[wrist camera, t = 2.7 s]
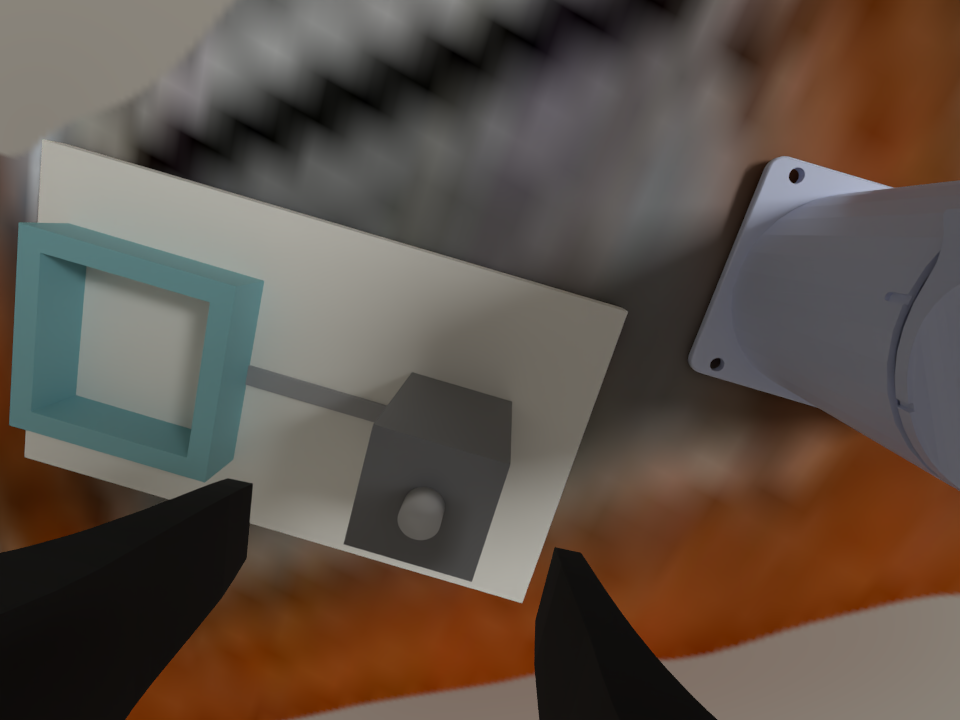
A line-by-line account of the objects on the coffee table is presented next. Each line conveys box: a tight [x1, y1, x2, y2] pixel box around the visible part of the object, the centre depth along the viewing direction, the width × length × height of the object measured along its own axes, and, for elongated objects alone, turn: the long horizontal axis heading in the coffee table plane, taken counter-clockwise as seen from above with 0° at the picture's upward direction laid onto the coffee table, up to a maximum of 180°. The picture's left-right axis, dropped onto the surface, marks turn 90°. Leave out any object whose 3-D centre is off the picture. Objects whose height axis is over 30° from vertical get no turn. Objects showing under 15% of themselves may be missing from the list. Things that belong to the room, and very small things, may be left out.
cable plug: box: [344, 372, 512, 582], centre depth 17 cm, size 4×4×6 cm
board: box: [9, 139, 628, 603], centre depth 20 cm, size 22×13×3 cm, turn 74°
